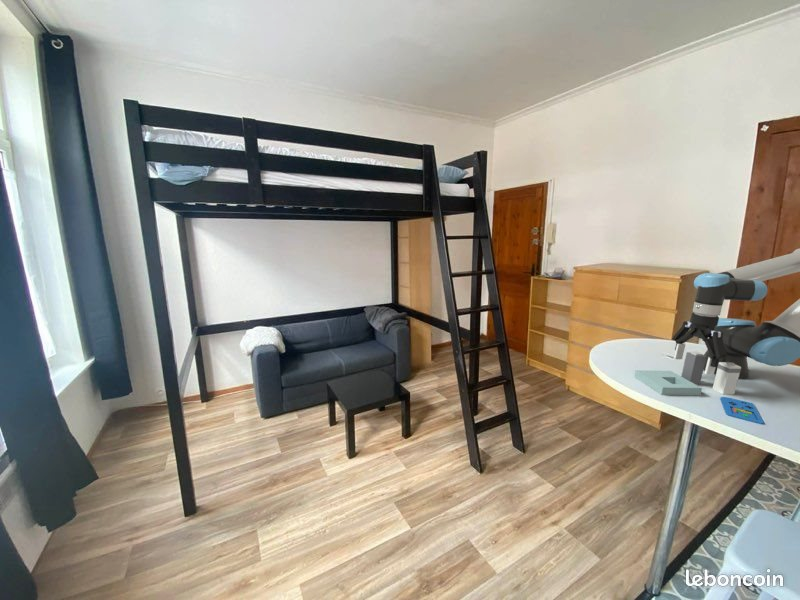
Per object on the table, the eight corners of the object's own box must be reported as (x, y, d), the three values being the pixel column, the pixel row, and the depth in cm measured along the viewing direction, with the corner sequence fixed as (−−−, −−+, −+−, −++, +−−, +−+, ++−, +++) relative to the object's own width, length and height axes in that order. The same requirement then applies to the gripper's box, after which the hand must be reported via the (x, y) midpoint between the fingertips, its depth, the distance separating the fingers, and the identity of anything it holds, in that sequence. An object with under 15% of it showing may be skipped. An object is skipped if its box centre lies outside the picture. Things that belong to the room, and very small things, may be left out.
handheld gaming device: (753, 402, 107) (765, 423, 95) (752, 405, 107) (764, 426, 96) (719, 394, 112) (726, 413, 100) (718, 397, 112) (726, 416, 101)
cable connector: (723, 388, 117) (730, 360, 114) (734, 394, 113) (742, 365, 110) (712, 388, 117) (719, 360, 115) (722, 394, 113) (730, 365, 111)
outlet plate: (668, 377, 126) (670, 370, 125) (700, 395, 113) (702, 387, 112) (634, 377, 127) (635, 370, 126) (661, 394, 113) (662, 387, 112)
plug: (690, 380, 124) (697, 350, 121) (699, 384, 120) (706, 355, 117) (680, 379, 124) (686, 350, 121) (689, 384, 120) (696, 354, 117)
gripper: (668, 305, 128) (657, 353, 133) (728, 324, 104) (713, 381, 109) (686, 306, 128) (675, 353, 133) (751, 324, 104) (735, 381, 108)
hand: (692, 366), depth 121 cm, fingers open, 13 cm apart
